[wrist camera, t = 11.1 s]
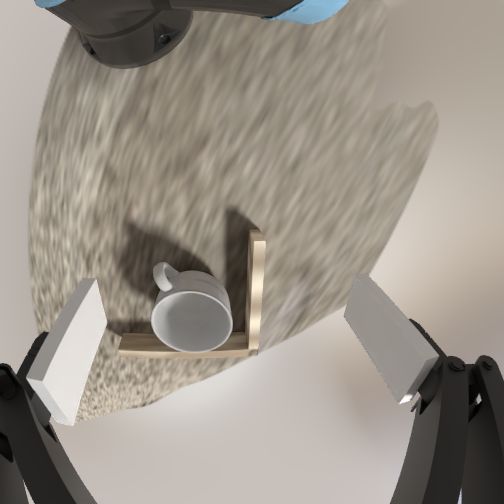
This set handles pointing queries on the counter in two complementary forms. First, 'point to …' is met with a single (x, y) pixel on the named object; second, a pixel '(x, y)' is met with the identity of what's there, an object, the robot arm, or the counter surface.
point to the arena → (237, 341)
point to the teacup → (190, 310)
